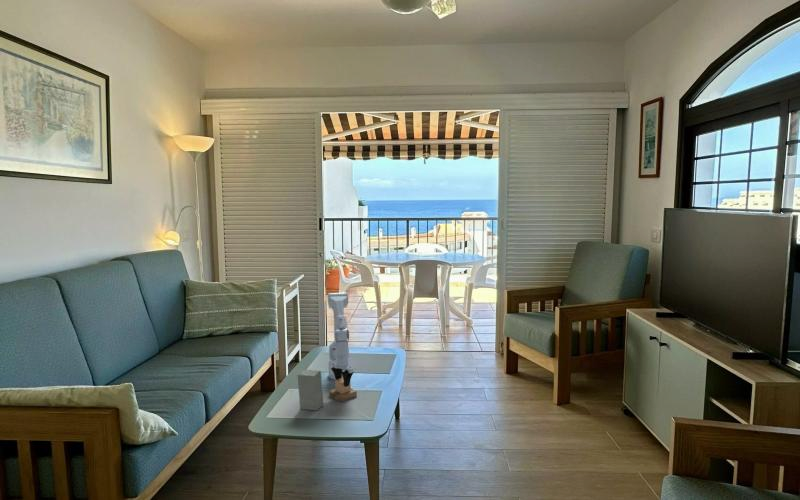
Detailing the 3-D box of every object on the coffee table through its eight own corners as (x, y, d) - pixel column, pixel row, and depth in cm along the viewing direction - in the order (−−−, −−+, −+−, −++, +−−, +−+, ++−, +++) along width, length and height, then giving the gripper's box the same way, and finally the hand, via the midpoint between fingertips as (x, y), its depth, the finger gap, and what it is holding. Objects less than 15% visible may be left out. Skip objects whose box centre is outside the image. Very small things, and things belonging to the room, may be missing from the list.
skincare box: (323, 405, 200) (322, 370, 199) (315, 412, 194) (314, 375, 192) (306, 402, 203) (305, 367, 202) (298, 409, 196) (296, 373, 195)
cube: (335, 390, 210) (335, 380, 210) (344, 387, 213) (344, 377, 213) (341, 393, 206) (341, 383, 206) (350, 390, 210) (350, 380, 209)
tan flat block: (329, 396, 210) (329, 390, 210) (345, 391, 216) (345, 385, 216) (340, 403, 204) (340, 396, 203) (356, 397, 210) (356, 391, 209)
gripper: (325, 353, 211) (326, 381, 212) (343, 361, 200) (344, 391, 201) (338, 350, 216) (339, 378, 217) (357, 357, 205) (357, 386, 206)
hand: (342, 384), depth 209 cm, fingers open, 6 cm apart
